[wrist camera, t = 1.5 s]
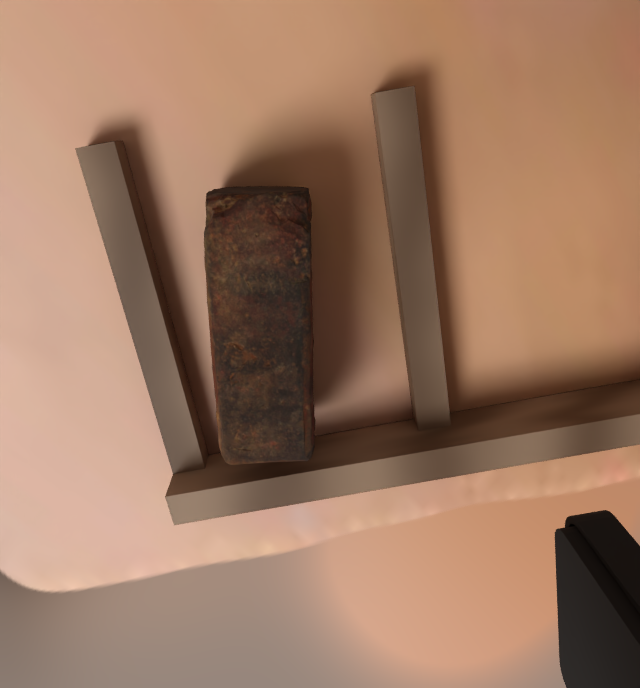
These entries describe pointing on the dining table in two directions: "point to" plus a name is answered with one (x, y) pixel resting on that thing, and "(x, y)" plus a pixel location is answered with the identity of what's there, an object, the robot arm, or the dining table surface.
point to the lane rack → (420, 351)
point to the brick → (261, 322)
